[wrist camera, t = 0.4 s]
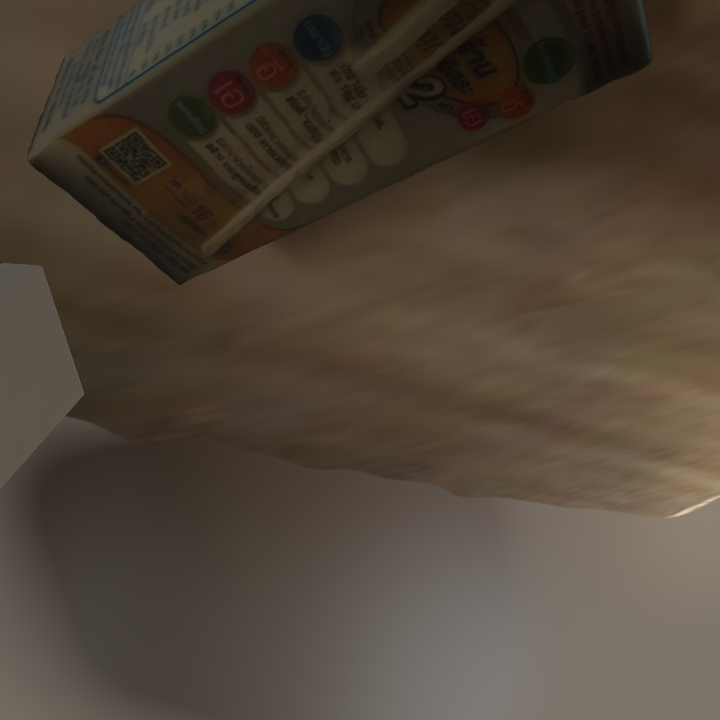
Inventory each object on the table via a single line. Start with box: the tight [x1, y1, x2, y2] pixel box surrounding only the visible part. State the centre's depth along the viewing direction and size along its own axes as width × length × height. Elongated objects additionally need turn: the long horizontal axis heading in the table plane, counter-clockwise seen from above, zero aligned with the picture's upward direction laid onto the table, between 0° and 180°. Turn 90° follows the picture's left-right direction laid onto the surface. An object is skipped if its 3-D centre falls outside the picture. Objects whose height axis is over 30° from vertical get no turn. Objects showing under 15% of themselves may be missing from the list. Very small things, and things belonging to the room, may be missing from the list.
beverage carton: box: [27, 0, 653, 285], centre depth 22 cm, size 8×19×7 cm, turn 120°
